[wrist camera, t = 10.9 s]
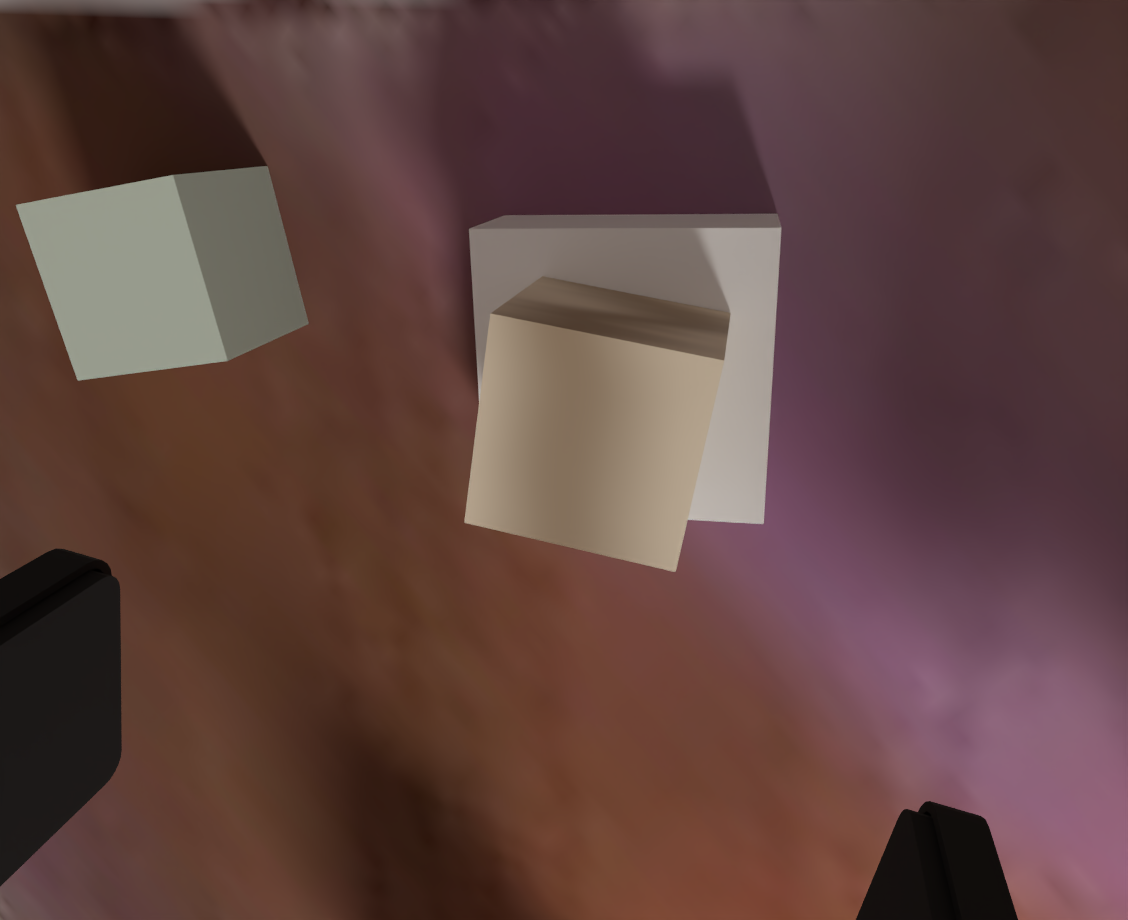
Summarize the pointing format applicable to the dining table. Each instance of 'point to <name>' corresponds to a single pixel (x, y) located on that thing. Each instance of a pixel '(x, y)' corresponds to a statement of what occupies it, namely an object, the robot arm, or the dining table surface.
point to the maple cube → (595, 419)
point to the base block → (674, 273)
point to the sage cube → (166, 270)
